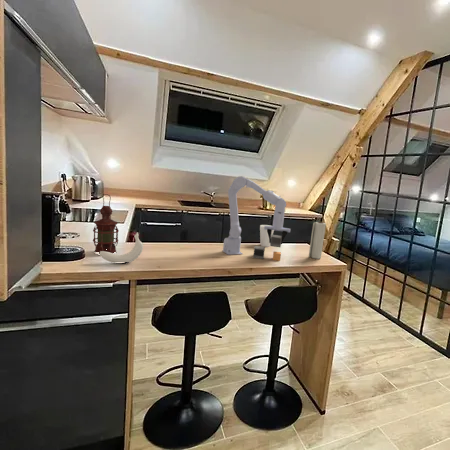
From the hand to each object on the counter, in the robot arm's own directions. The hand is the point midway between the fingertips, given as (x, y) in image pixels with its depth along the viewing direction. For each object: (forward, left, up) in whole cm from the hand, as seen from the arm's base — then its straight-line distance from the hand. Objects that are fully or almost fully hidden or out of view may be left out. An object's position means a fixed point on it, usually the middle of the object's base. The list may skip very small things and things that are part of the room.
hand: (275, 243), depth 173 cm
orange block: (-1, -4, -8) cm, 9 cm away
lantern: (-89, +19, -9) cm, 92 cm away
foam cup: (+10, +26, -9) cm, 29 cm away
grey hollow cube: (-9, +2, -8) cm, 13 cm away
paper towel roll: (+27, -3, -9) cm, 28 cm away
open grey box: (0, 0, -1) cm, 1 cm away
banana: (-83, +1, -9) cm, 84 cm away
